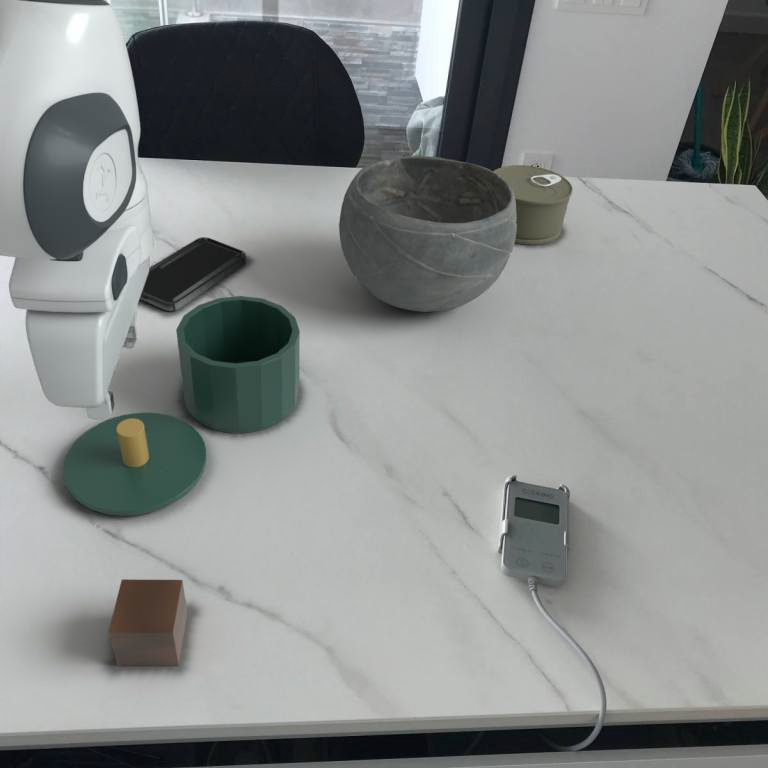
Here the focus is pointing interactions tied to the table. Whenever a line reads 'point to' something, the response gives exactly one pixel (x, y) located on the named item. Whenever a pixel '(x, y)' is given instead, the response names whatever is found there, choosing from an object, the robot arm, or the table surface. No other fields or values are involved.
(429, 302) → the bowl
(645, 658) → the table surface
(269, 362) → the tin
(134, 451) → the tin lid
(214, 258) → the phone
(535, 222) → the can
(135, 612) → the block
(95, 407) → the robot arm
